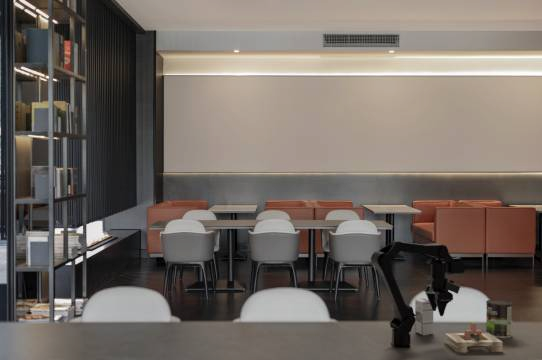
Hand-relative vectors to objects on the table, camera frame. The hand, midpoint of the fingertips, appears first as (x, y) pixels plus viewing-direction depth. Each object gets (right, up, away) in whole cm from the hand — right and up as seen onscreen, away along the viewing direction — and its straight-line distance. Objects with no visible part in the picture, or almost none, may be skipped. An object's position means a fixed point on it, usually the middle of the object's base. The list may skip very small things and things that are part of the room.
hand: (437, 313), depth 264 cm
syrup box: (-2, -12, +15) cm, 19 cm away
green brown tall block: (+29, -12, +13) cm, 34 cm away
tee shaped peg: (+12, -10, -6) cm, 17 cm away
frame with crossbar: (+12, -12, -6) cm, 18 cm away
